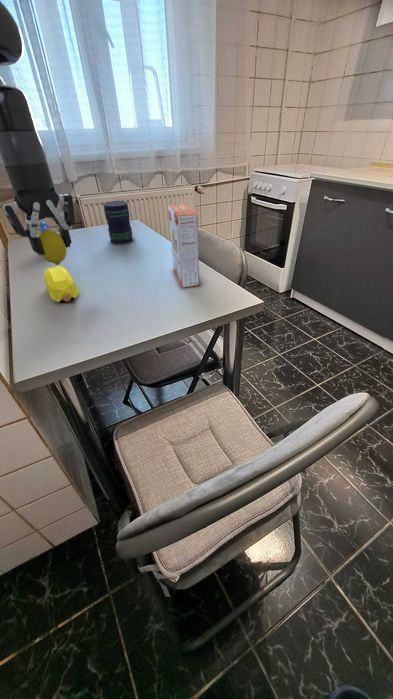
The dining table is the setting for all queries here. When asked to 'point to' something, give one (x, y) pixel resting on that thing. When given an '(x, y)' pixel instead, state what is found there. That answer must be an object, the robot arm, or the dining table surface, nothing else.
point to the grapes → (43, 226)
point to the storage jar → (118, 222)
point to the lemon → (52, 246)
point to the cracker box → (184, 244)
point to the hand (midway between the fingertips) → (54, 249)
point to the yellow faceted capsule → (60, 284)
